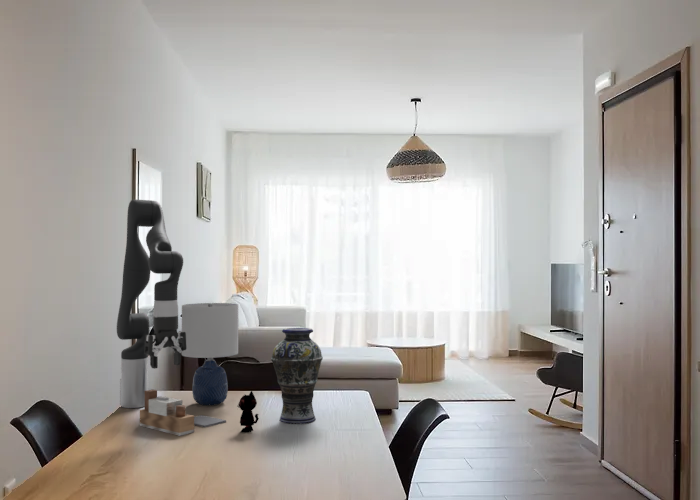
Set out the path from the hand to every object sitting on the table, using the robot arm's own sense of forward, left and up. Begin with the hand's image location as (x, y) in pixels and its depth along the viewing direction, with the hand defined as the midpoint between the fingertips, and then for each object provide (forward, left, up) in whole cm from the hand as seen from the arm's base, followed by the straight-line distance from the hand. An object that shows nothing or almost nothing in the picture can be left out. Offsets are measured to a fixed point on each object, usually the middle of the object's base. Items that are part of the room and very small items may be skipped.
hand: (165, 366), depth 218 cm
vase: (+24, +34, -20) cm, 46 cm away
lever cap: (0, 0, -14) cm, 14 cm away
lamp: (-18, +33, -20) cm, 42 cm away
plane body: (0, 0, -19) cm, 19 cm away
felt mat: (+2, +13, -19) cm, 23 cm away
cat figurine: (+22, +14, -20) cm, 33 cm away
